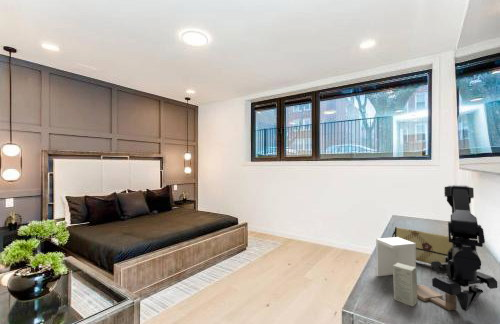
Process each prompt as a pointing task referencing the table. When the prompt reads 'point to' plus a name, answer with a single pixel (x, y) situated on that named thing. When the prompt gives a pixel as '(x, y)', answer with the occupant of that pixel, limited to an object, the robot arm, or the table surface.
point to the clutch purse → (426, 244)
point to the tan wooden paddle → (436, 297)
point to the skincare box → (405, 283)
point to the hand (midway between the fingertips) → (464, 310)
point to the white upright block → (393, 254)
